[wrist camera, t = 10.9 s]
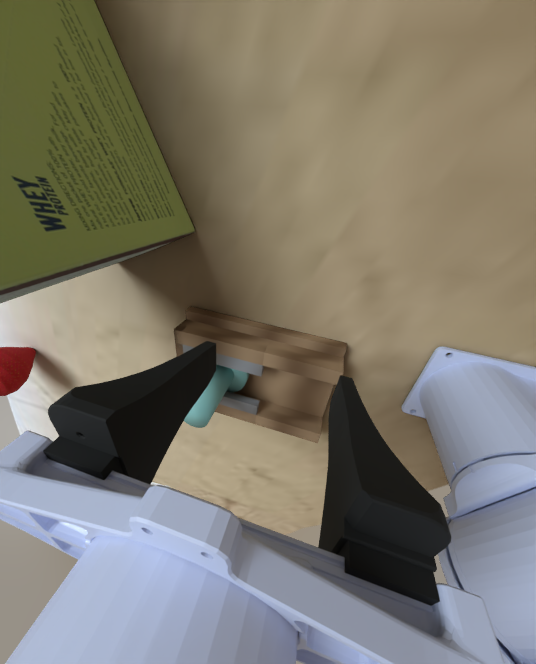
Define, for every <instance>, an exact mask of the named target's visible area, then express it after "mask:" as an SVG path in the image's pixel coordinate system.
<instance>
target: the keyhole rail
mask: <svg viewBox="0 0 536 664" xmlns="http://www.w3.org/2000/svg"><path fill="white" fill-rule="evenodd" d="M174 335H175V344H176V353H177V357H178V356H180V355H181V354H183V353H185V352H187V351H189V350H191V349H193V348H194V347H196V346H198V345H200V344H202V343H204V342H206V341H209V342H213V343H216V365H220V366H224V367H227V368H231V369H235V370H239V371H242V372H246V373H249V377H248V380H247V382H246V384H245V385H244V387H243V388H242V389H241V390H239V391H237V392H232V393H231V392H227V391H226V392H225V394H224V396H223V398H222V399H221V401H220V403H219V405H218V406H217V408H216V410H215V412H217V413H221V414H224V415H227V416H230V417H234V418H237V419H240V420H243V421H247V422H250V423H253V424H257V425H260V426H263V427H266V428H270V429H273V430H276V431H279V432H283V433H286V434H289V435H293V436H296V437H299V438H302V439H306V440H309V441H312V442H315V443H318V440H319V438H320V435H321V426H322V417H323V414H324V412H325V409H326V406H327V403H328V400H329V397H330V395H331V392H332V389H333V386H334V384H335V385H337V383H338V380H339V377H340V375H343V358H344V355H345V352H346V349H347V344H346V343H344V342H340V341H335V340H331V339H327V338H323V337H318V336H314V335H310V334H306V333H301V332H297V331H293V330H289V329H284V328H280V327H276V326H272V325H267V324H263V323H259V322H255V321H250V320H246V319H242V318H238V317H234V316H229V315H225V314H221V313H217V312H212V311H208V310H204V309H200V308H195V307H189V308H188V309H187V310H186V320H185V321H183V322H182V323H181V324H180V325H179V326H177V327H176V328H175V329H174Z"/></svg>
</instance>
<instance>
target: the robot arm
mask: <svg viewBox="0 0 536 664" xmlns="http://www.w3.org/2000/svg"><path fill="white" fill-rule="evenodd" d="M447 353H451V354H450V355H446V354H447ZM215 372H216V343H213V342H209V341H206V342H204V343H202V344H200V345H198V346H196V347H194V348H193V349H191V350H189V351H187V352H185V353H183V354H181V355H180V356H178V357H176V358H173V359H171V360H169V361H167V362H165V363H163V364H161V365H158V366H156V367H154V368H151V369H148V370H146V371H143V372H140V373H137V374H134V375H130V376H127V377H124V378H120V379H116V380H112V381H108V382H103V383H99V384H93V385H87V386H81V387H75V388H73V389H72V390H71V391H69V392H68V393H67V394H65V395H64V396H63V397H61V398H60V399H59V400H58V401H56V402H55V403H54V404H52V405H51V406H50V407H49V409H48V415H49V418H50V420H51V422H52V424H53V425H54V427H55V429H56V431H57V432H58V434H59V437H58V438H57V439H56V440H55V441H54V442H53V441H52V440H50V439H49V438H47V437H45V436H42V435H39V434H37V433H34V432H31V431H26V432H24V433H23V434H22V435H20V436H19V437H18V438H16V439H15V440H14V441H13V442H11V443H10V444H9V445H7V446H6V447H5V448H4V449H2V450H1V451H0V520H2V521H5V522H7V523H9V524H11V525H13V526H15V527H17V528H19V529H21V530H23V531H25V532H27V533H29V534H31V535H33V536H35V537H36V538H38V539H40V540H42V541H44V542H46V543H48V544H50V545H52V546H54V547H56V548H57V549H59V550H61V551H63V552H65V553H67V554H68V555H71V556H72V557H74V558H76V559H78V561H77V563H76V565H75V566H74V567H73V569H72V570H71V571H70V573H69V574H68V576H67V577H66V579H65V580H64V581H63V583H62V584H61V586H60V587H59V588H58V590H57V591H56V593H55V594H54V595H53V597H52V598H51V600H50V601H49V602H48V604H47V605H46V607H45V608H44V609H43V611H42V612H41V614H40V615H39V616H38V618H37V619H36V621H35V622H34V624H33V625H32V626H31V628H30V629H29V631H28V632H27V633H26V635H25V636H24V638H23V639H22V640H21V642H20V643H19V645H18V646H17V648H16V649H15V650H14V652H13V653H12V655H11V656H10V657H9V659H8V660H7V662H6V663H5V664H296V661H298V662H301V663H303V664H536V367H533V366H528V365H524V364H519V363H515V362H510V361H506V360H502V359H497V358H493V357H488V356H484V355H479V354H475V353H470V352H466V351H461V350H457V349H452V348H448V347H442V346H441V347H438V348H436V349H435V351H434V352H433V354H432V356H431V358H430V359H429V361H428V363H427V364H426V366H425V368H424V369H423V371H422V373H421V374H420V376H419V378H418V379H417V381H416V383H415V384H414V386H413V388H412V390H411V391H410V393H409V395H408V396H407V398H406V400H405V401H404V403H403V405H402V407H401V408H402V411H403V412H405V413H408V414H411V415H415V416H419V417H422V418H426V420H427V423H428V425H429V428H430V431H431V434H432V437H433V440H434V443H435V446H436V448H437V451H438V454H439V457H440V460H441V463H442V466H443V469H444V471H445V474H446V477H447V480H448V483H449V486H450V488H451V492H450V494H448V495H447V496H445V497H444V498H443V499H444V502H445V505H446V509H447V512H448V515H449V517H446V518H445V515H444V513H443V510H442V508H441V505H440V504H439V503H438V502H437V501H436V500H435V499H434V498H433V497H432V496H431V495H430V494H429V493H428V492H427V491H426V490H425V489H424V488H423V487H422V486H421V485H420V484H419V483H418V481H417V480H416V479H415V478H414V477H413V476H412V475H411V474H410V473H409V471H408V470H407V469H406V468H405V467H404V466H403V464H402V463H401V462H400V461H399V460H398V458H397V457H396V456H395V454H394V453H393V452H392V451H391V449H390V448H389V447H388V445H387V444H386V442H385V441H384V439H383V438H382V437H381V435H380V433H379V432H378V430H377V429H376V427H375V425H374V423H373V422H372V420H371V418H370V416H369V414H368V413H367V411H366V409H365V407H364V405H363V403H362V400H361V398H360V396H359V394H358V391H357V389H356V386H355V384H354V381H353V379H352V378H349V377H345V376H342V375H340V377H339V380H338V383H337V386H336V388H335V391H334V394H333V397H332V399H331V403H330V411H329V458H328V472H327V482H326V492H325V500H324V509H323V517H322V525H321V533H320V540H319V547H315V546H312V545H310V544H307V543H304V542H302V541H299V540H296V539H294V538H291V537H288V536H286V535H283V534H280V533H278V532H275V531H272V530H270V529H267V528H264V527H262V526H259V525H256V524H254V523H251V522H248V521H246V520H243V519H240V518H238V517H237V516H235V515H234V514H233V513H232V512H231V511H229V510H227V509H225V508H223V507H221V506H219V505H216V504H213V503H211V502H208V501H205V500H203V499H200V498H197V497H194V496H192V495H189V494H186V493H184V492H181V491H178V490H176V489H173V488H170V487H167V486H162V485H156V486H152V485H150V484H151V482H152V480H153V478H154V476H155V474H156V472H157V470H158V468H159V466H160V464H161V462H162V460H163V458H164V456H165V454H166V452H167V450H168V448H169V446H170V444H171V442H172V440H173V439H174V437H175V435H176V433H177V431H178V430H179V428H180V426H181V424H182V422H183V421H184V419H185V418H186V416H187V414H188V413H189V412H190V410H191V409H192V407H193V406H194V405H195V403H196V402H197V400H198V399H199V398H200V396H201V395H202V393H203V392H204V390H205V389H206V388H207V386H208V385H209V383H210V381H211V379H212V377H213V376H214V374H215ZM412 409H413V410H412ZM437 554H438V556H439V560H440V564H441V567H442V570H443V573H444V576H445V578H446V581H447V583H448V585H447V584H442V583H438V584H436V582H435V577H434V574H433V572H435V571H436V570H437V567H436V563H435V559H434V556H436V555H437Z"/></svg>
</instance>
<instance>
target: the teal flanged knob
mask: <svg viewBox="0 0 536 664" xmlns="http://www.w3.org/2000/svg"><path fill="white" fill-rule="evenodd" d="M248 377H249V373H246V372H242V371H239V370H235V369H231V368H227V367H224V366H220V365H216V372H215V374H214V376H213V377H212V379H211V381H210V383H209V385H208V386H207V388H206V389H205V390H204V392H203V393H202V395H201V396H200V398H199V399H198V400H197V402H196V403H195V405H194V406H193V407H192V409H191V410H190V412H189V413H188V414H187V416H186V418H185V419H184V421H185V422H186V423H187V424H189V425H191V426H194V427H198V428H202V427H205V426H206V425H207V424H208V422H209V420H210V418H211V417H212V415H213V413H214V412H215V410H216V408H217V406H218V405H219V403H220V401H221V399H222V398H223V396H224V394H225V392H226V391H227V392H231V393H232V392H237V391H239V390H241V389H242V388H243V387H244V385H245V384H246V382H247V380H248Z"/></svg>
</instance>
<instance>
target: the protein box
mask: <svg viewBox="0 0 536 664" xmlns="http://www.w3.org/2000/svg"><path fill="white" fill-rule="evenodd" d="M194 232H195V229H194V227H193V225H192V222H191V220H190V218H189V215H188V213H187V211H186V209H185V206H184V204H183V202H182V199H181V197H180V195H179V193H178V191H177V188H176V186H175V184H174V181H173V179H172V177H171V175H170V172H169V170H168V168H167V165H166V163H165V161H164V158H163V156H162V154H161V152H160V149H159V147H158V145H157V143H156V140H155V138H154V136H153V134H152V131H151V129H150V127H149V124H148V122H147V120H146V118H145V115H144V113H143V111H142V108H141V106H140V104H139V102H138V99H137V97H136V95H135V92H134V90H133V88H132V86H131V83H130V81H129V79H128V76H127V74H126V72H125V70H124V67H123V65H122V63H121V61H120V58H119V56H118V54H117V51H116V49H115V47H114V44H113V42H112V40H111V38H110V35H109V33H108V31H107V29H106V26H105V24H104V22H103V19H102V17H101V15H100V13H99V10H98V8H97V6H96V4H95V1H94V0H0V303H2V302H5V301H8V300H11V299H14V298H17V297H20V296H23V295H26V294H28V293H31V292H34V291H37V290H40V289H43V288H46V287H49V286H52V285H54V284H57V283H60V282H63V281H66V280H69V279H72V278H75V277H78V276H81V275H84V274H86V273H89V272H92V271H95V270H98V269H101V268H104V267H107V266H110V265H113V264H116V263H119V262H121V261H124V260H127V259H129V258H132V257H135V256H138V255H140V254H143V253H145V252H148V251H151V250H153V249H156V248H158V247H161V246H163V245H166V244H168V243H171V242H173V241H175V240H178V239H180V238H183V237H185V236H187V235H190V234H192V233H194Z"/></svg>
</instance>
